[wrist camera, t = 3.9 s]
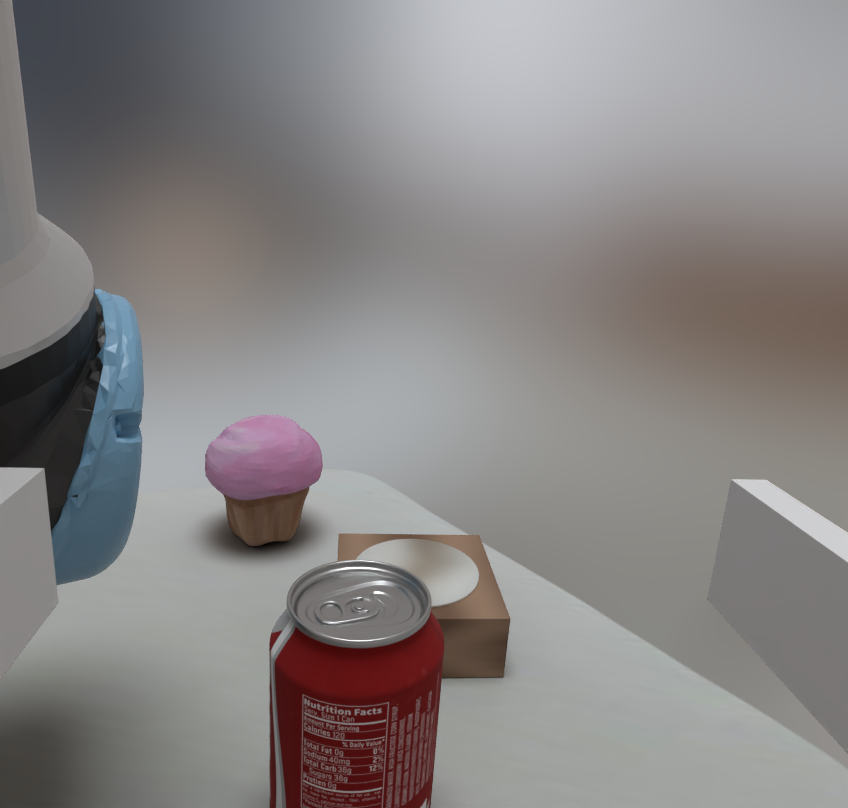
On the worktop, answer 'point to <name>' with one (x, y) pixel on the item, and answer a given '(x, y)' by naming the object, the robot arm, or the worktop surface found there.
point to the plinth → (448, 593)
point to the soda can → (355, 689)
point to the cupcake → (263, 475)
